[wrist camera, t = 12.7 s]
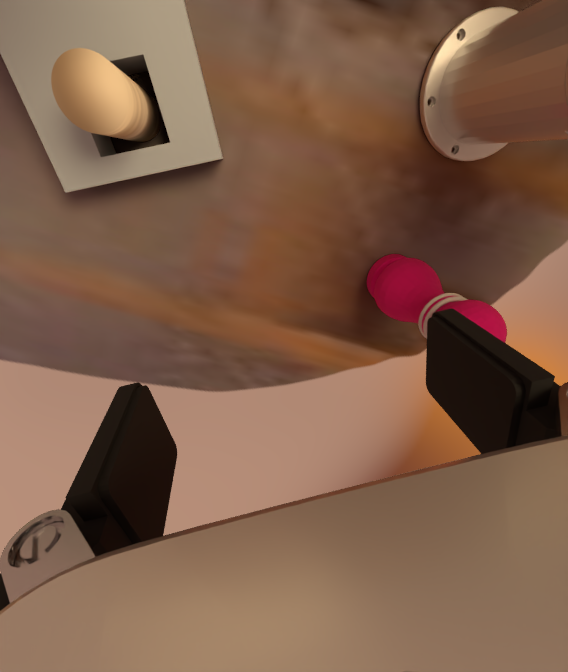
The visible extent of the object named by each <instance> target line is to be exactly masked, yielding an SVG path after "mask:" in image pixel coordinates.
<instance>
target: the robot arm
mask: <svg viewBox="0 0 568 672" xmlns="http://www.w3.org/2000/svg"><path fill="white" fill-rule="evenodd" d="M457 37H458V38H457ZM428 101H429V105H428V103H427V102H428ZM420 116H421V123H422V126H423V129H424V133H425V135H426V137H427V139H428V140H429V142H430V144H431V145H432V146H433V147H434V148H435V150H436V151H438V152H439V153H440V154H442V155H443V156H445V157H447V158H450V159H452V160H458V161H474V160H479V159H483V158H486V157H488V156H490V155H492V154H494V153H496V152H497V151H499V150H500V149H502V148H503V147H505V146H506V145H507V144H508V143H509V142H525V141H541V140H557V139H568V0H542V1H540V2H538V3H536V4H534V5H532V6H530V7H528V8H526V9H524V10H523V11H521V12H518V11H516V10H515V9H511V8H507V7H490V8H487V9H484V10H481V11H478V12H476V13H475V14H473V15H471V16H469V17H467V18H466V19H464V20H463V21H462V22H460V23H459V24H458V25H456V26H455V27H454V28H453V29H452V30H451V31H450V32H449V33H448V34H447V35H446V36H445V37H444V38H443V40H442V41H441V43H440V44H439V46H438V47H437V48H436V50H435V52H434V54H433V56H432V58H431V60H430V62H429V64H428V66H427V69H426V72H425V75H424V78H423V82H422V87H421V92H420ZM451 150H452V151H451ZM426 363H427V364H426V386H427V389H428V391H429V393H430V394H431V395H432V396H433V398H434V399H435V400H436V401H437V402H438V403H439V405H440V406H441V407H442V408H443V409H444V410H445V412H446V413H447V414H448V415H449V416H450V417H451V419H452V420H453V421H454V422H455V423H456V425H457V426H458V427H459V428H460V429H461V430H462V431H463V432H464V434H465V435H466V436H467V437H468V438H469V440H470V441H471V442H472V443H473V444H474V446H475V447H476V448H477V449H478V450H479V451H480V452H481V454H480V455H476V456H472V457H468V458H464V459H460V460H456V461H452V462H448V463H444V464H440V465H436V466H432V467H428V468H424V469H420V470H416V471H412V472H408V473H404V474H400V475H395V476H392V477H388V478H384V479H380V480H376V481H372V482H368V483H364V484H360V485H356V486H352V487H348V488H345V489H340V490H336V491H332V492H329V493H325V494H321V495H317V496H313V497H309V498H305V499H302V500H298V501H293V502H290V503H286V504H282V505H278V506H274V507H270V508H266V509H263V510H259V511H255V512H251V513H248V514H243V515H240V516H236V517H232V518H228V519H225V520H220V521H217V522H213V523H209V524H205V525H202V526H197V527H194V528H190V529H187V530H183V531H179V532H176V533H172V534H169V535H165V536H163V533H164V527H165V521H166V516H167V510H168V504H169V498H170V492H171V487H172V482H173V476H174V469H175V465H176V459H177V448H176V444H175V442H174V440H173V438H172V436H171V434H170V432H169V430H168V427H167V425H166V423H165V421H164V419H163V417H162V415H161V413H160V411H159V409H158V407H157V405H156V403H155V400H154V399H153V396H152V394H151V392H150V390H149V388H148V387H147V386H146V385H145V386H142V385H141V384H140V383H134V384H130V385H125V386H121V387H119V389H118V390H117V393H116V394H115V397H114V399H113V401H112V403H111V405H110V407H109V409H108V411H107V413H106V416H105V417H104V419H103V421H102V423H101V426H100V428H99V430H98V432H97V434H96V436H95V438H94V440H93V442H92V444H91V446H90V448H89V450H88V452H87V455H86V457H85V459H84V461H83V463H82V465H81V467H80V469H79V471H78V473H77V475H76V477H75V479H74V481H73V483H72V486H71V487H70V490H69V492H68V494H67V496H66V500H65V502H64V504H63V506H62V508H61V510H53V511H49V512H47V513H44V514H41V515H39V516H38V517H36V518H34V519H33V520H31V521H30V522H28V523H27V524H26V525H25V526H23V527H22V528H21V529H20V530H19V531H18V532H17V533H16V534H15V535H14V536H13V537H12V538H11V540H10V541H9V542H8V544H7V546H6V547H5V548H4V550H3V552H2V555H1V558H0V571H1V574H0V672H568V382H567V383H565V384H563V385H562V386H559V385H558V384H556V383H555V382H554V378H555V376H554V375H552V374H551V373H549V372H548V371H546V370H545V369H543V368H542V367H540V366H538V365H537V364H536V363H534V362H533V361H531V360H530V359H528V358H526V357H525V356H524V355H522V354H521V353H519V352H518V351H516V350H515V349H513V348H511V347H510V346H509V345H507V344H506V343H504V342H503V341H501V340H500V339H498V338H497V337H495V336H494V335H492V334H491V333H489V332H488V331H486V330H485V329H483V328H482V327H480V326H479V325H477V324H476V323H474V322H473V321H471V320H470V319H468V318H467V317H465V316H464V315H462V314H461V313H459V312H458V311H456V310H455V309H452V308H450V309H446V310H442V311H437V312H434V313H433V314H432V317H431V318H429V319H428V322H427V361H426Z"/></svg>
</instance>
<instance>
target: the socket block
mask: <svg viewBox="0 0 568 672" xmlns="http://www.w3.org/2000/svg"><path fill="white" fill-rule="evenodd" d="M74 48H85V49H90V50H92V51H95V52H97V53H99V54H101V55H102V56H104V57H105V58H106V59H107V60H109V61H110V62H111V63H112V64H113V65H115V66H116V67H117V68H118V69H120V70H121V71H122V72H123V73H124V74H126V75H131V74H136V73H141V72H146V71H149V74H150V78H151V81H152V84H153V87H154V91H155V94H156V97H157V100H158V104H159V107H160V110H161V114H162V117H163V120H164V123H165V127H166V130H167V133H168V136H169V140H170V143H166V144H161V145H156V146H152V147H147V148H142V149H138V150H133V151H128V152H124V153H119V154H116V152H115V149H114V146H113V144H112V141H111V138H110V136H105V135H100V134H95V133H91V132H87V131H85V130H83V129H81V128H79V127H77V126H76V125H75V124H73V123H72V122H71V121H70V120H69V119H68V118H67V117H66V116H65V115H64V113H63V112H62V111H61V109H60V108H59V106H58V104H57V102H56V100H55V97H54V95H53V91H52V85H51V75H52V69H53V66H54V64H55V62H56V60H57V59H58V57H59V56H60V55H61V54H63V53H64V52H66V51H68V50H70V49H74ZM0 54H1V56H2V58H3V60H4V62H5V64H6V67H7V69H8V71H9V73H10V75H11V77H12V79H13V81H14V84H15V86H16V88H17V90H18V92H19V94H20V96H21V99H22V101H23V103H24V105H25V107H26V109H27V111H28V114H29V116H30V118H31V120H32V122H33V124H34V126H35V128H36V131H37V133H38V135H39V137H40V139H41V141H42V143H43V146H44V148H45V150H46V152H47V154H48V156H49V158H50V161H51V163H52V165H53V167H54V169H55V171H56V173H57V175H58V178H59V180H60V182H61V184H62V186H63V188H64V190H65V193H66V192H71V191H76V190H81V189H86V188H91V187H95V186H100V185H104V184H109V183H114V182H118V181H123V180H127V179H132V178H137V177H141V176H146V175H150V174H155V173H160V172H164V171H169V170H174V169H178V168H183V167H187V166H192V165H197V164H201V163H206V162H210V161H215V160H220V159H223V155H222V151H221V147H220V143H219V139H218V135H217V131H216V126H215V122H214V118H213V114H212V110H211V106H210V102H209V98H208V94H207V90H206V86H205V82H204V78H203V73H202V69H201V65H200V61H199V57H198V53H197V49H196V45H195V41H194V37H193V33H192V29H191V25H190V21H189V16H188V12H187V8H186V4H185V0H0Z"/></svg>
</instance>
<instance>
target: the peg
mask: <svg viewBox="0 0 568 672" xmlns="http://www.w3.org/2000/svg"><path fill="white" fill-rule="evenodd" d="M51 85H52V91H53V95H54V97H55V100H56V102H57V104H58V106H59V108H60V109H61V111H62V112H63V113H64V115H65V116H66V117H67V118H68V119H69V120H70V121H71V122H72V123H73V124H75V125H76V126H77V127H79V128H81V129H83V130H85V131H87V132H91V133H95V134H100V135H105V136H110V137H116V138H121V139H126V140H131V141H136V142H146V141H149V140H151V139H152V138H154V137H155V136H156V135H157V133H158V131H159V129H160V125H161V114H160V110H159V107H158V105H157V103H156V102H155V100H154V99H153V97H152V96H151V95H150V94H149V93H147V92H146V91H145V90H144V89H143V88H141V87H140V86H139V85H138V84H136V83H135V82H134V81H133V80H132V79H130V78H129V77H128V76H127V75H126V74H124V73H123V72H122V71H121V70H120V69H118V68H117V67H116V66H115V65H113V64H112V63H111V62H110V61H109V60H107V59H106V58H105V57H104V56H102V55H101V54H99V53H97V52H95V51H92V50H90V49H85V48H74V49H70V50H68V51H66V52H64V53H63V54H61V55H60V56H59V57H58V59H57V60H56V62H55V64H54V66H53V69H52V75H51Z"/></svg>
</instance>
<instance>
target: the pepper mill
mask: <svg viewBox="0 0 568 672" xmlns="http://www.w3.org/2000/svg"><path fill="white" fill-rule="evenodd" d="M367 288H368V291H369V293H370V294H371V295H372V296H373V297H374V298H375V301H376V304H377V305H378V307H379V309H380V310H381V311H382V312H383V313H385V314H386V315H387V316H389V317H391V318H393V319H396V320H399V321H403V322H414V323H418V325H419V330H420V332H421V334H422V335H423V336H424V337H425V338H427V322H428V319H429V318H431V317H432V314H433V313H434V312H437V311H442V310H446V309H450V308H452V309H455V310H456V311H458V312H459V313H461V314H462V315H464V316H465V317H467V318H468V319H470V320H471V321H473V322H474V323H476V324H477V325H479V326H480V327H482V328H483V329H485V330H486V331H488V332H489V333H491V334H492V335H494V336H495V337H497V338H498V339H500V340H501V341H503V342H504V343H505V341H506V336H507V329H506V324H505V322H504V320H503V318H502V316H501V315H500V314H499V313H498V311H497V310H495V309H494V308H493V307H492V306H490V305H488V304H487V303H484V302H482V301H478V300H470V299H469V300H468V299H466V298H464V297H462V296H461V295H459V294H456V293H445V292H444V291H443V289H442V286H441V282H440V280H439V278H438V276H437V274H436V273H435V271H434V270H433V269H432V268H431V267H430V266H429V265H428V264H426V263H425V262H424V261H421V260H419V259H415V258H407V257H405V256H403V255H400V254H390V255H387V256H384V257H382V258H380V259H379V260H378V261H377V262H376V263H375V264H374V265H373V266H372V267H371V269H370V271H369V273H368V276H367Z"/></svg>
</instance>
